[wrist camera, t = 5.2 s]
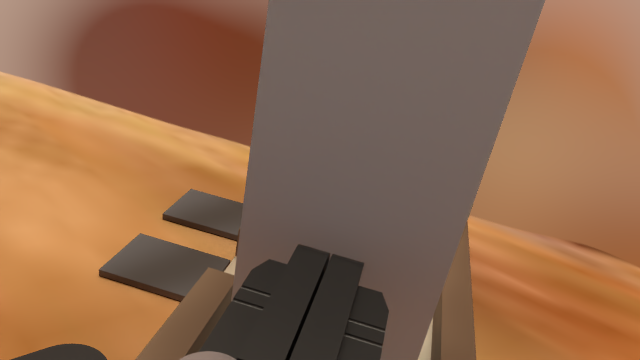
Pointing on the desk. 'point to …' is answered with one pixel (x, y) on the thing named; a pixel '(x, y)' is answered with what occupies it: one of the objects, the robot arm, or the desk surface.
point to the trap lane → (218, 276)
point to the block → (379, 139)
